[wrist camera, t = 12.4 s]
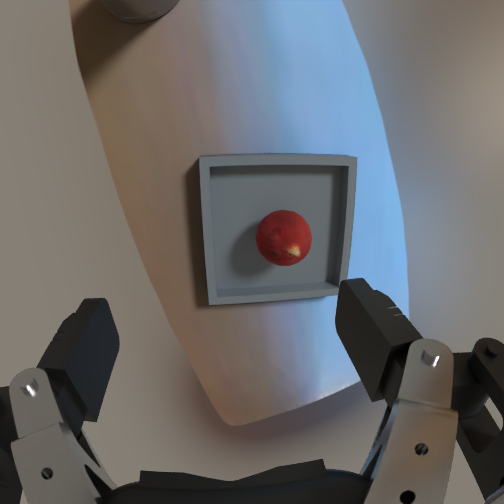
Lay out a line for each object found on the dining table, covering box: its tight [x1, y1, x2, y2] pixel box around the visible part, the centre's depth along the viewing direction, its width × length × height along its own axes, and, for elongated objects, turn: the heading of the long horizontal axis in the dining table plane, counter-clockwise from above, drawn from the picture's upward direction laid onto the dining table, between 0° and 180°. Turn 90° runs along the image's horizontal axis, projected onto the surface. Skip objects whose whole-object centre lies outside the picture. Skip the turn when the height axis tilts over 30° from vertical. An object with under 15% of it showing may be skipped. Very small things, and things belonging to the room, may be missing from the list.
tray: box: [199, 153, 357, 305], centre depth 35 cm, size 17×17×3 cm
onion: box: [256, 210, 312, 266], centre depth 32 cm, size 6×6×8 cm
